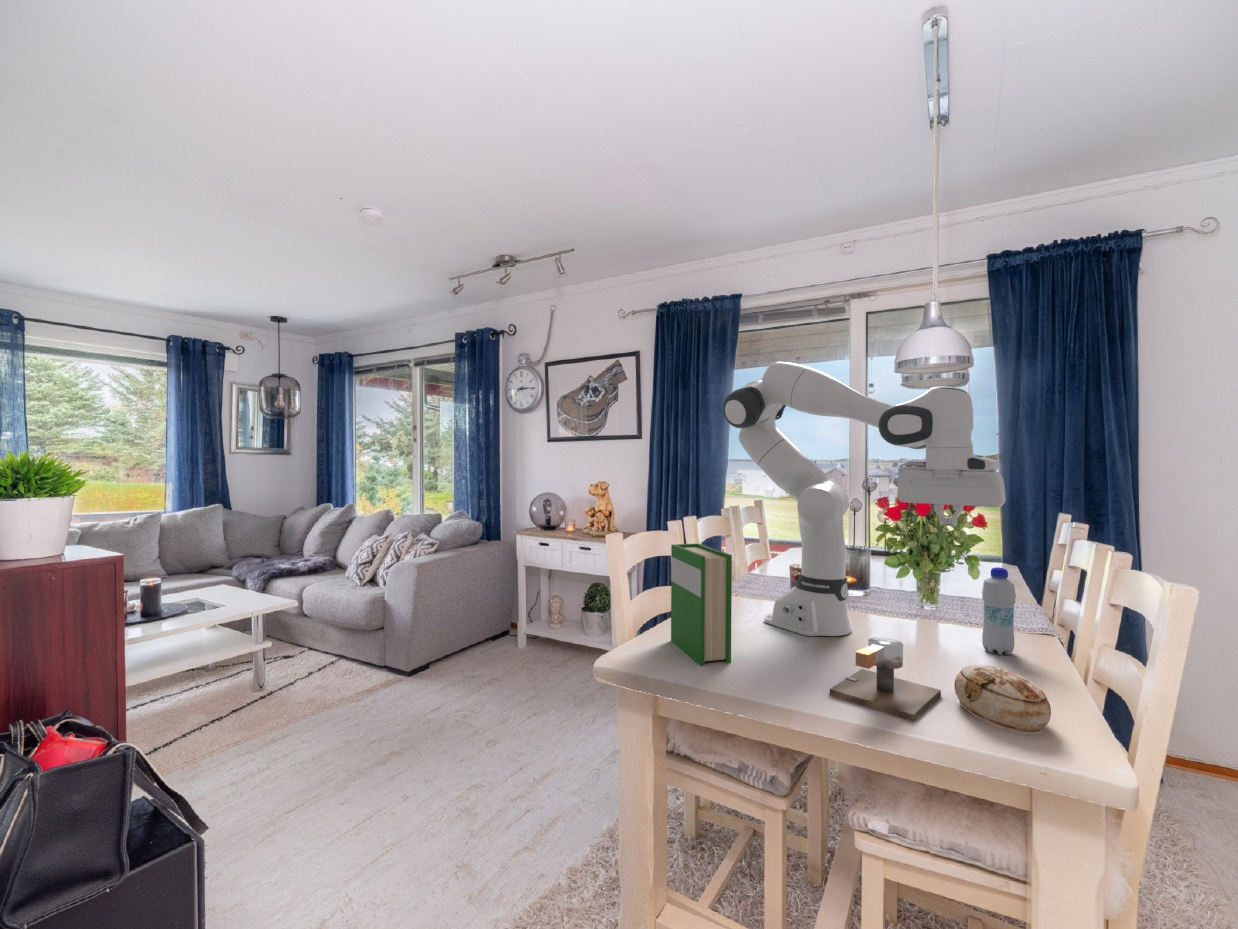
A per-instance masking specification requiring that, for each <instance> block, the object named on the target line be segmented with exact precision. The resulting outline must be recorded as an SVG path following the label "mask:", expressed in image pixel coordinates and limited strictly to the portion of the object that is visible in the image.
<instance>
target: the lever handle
mask: <svg viewBox="0 0 1238 929" xmlns="http://www.w3.org/2000/svg"><path fill="white" fill-rule="evenodd" d="M867 642H868V643H867V645H868V646H867V647H862V648H861V649H858V650H856V651H855V667H856V666H857V667H860V668H862V669H865V670H869V669H871V668H873V667H874V666H875V667H877V666H878V667H882V668H888V669H894V670H895V669H902V668H903V666H904V644H903V642H901V641H900V640H897V639H894V638H891V637H890V638H889V637H883V636H882V637H881V636H880V637H879V636H877V637H876V636H875V637H870V638H868V639H867Z"/></svg>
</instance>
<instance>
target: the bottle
mask: <svg viewBox="0 0 1238 929" xmlns="http://www.w3.org/2000/svg"><path fill="white" fill-rule="evenodd" d="M1008 578H1009V572H1008V569H1007V568H1004V567H997V566H996V567H992V568H991V569H990V577H988V578H985V579H983V584H982V591H981V594H982V596H981V598H982V600H983V619H982V620H983V621H982V622H983V623H982V624H983V625H982V626H983V627H982V637H981V639H982V640H981V642H982V643H981V644H982V646H983V647H982V648H984V650H985V651H986V652H987V651H988V652H989V653H991V654H994V652H995V650H996V652H997V655H1003V652H1004V654H1005V655H1007V656H1009V655H1011V653H1013V651H1014V650H1015V633H1014V632H1015V631H1014V630H1015V629H1014V625H1015V624H1014V622H1015V621H1014V617H1015V616H1014V614H1015V613H1014V612H1015V610H1014V609H1015V604H1016V598H1017V594H1016V589H1015V583H1014V582H1013V581H1011V580H1009V579H1008Z"/></svg>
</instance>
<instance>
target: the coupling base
mask: <svg viewBox="0 0 1238 929" xmlns="http://www.w3.org/2000/svg"><path fill="white" fill-rule="evenodd" d="M844 678H845V679H843V680H841V681H839V682H838V683H836V684H835V685H833V686H832V687H830V688H829V696H831V695H832V697H834V696H835V698H837V699H841V698H842V699H841V700H844V701H847V702H850V703H853V702H854V704H856V703H857V705H859V706H863V707H866V708H870V709H872V708H874V709H873V710H875V709H877V710H876V711H878V710H879V712H883V713H885V712H886V713H885V714H888V715H891V716H894V715H897V716H899V717H898V718H900V717H901V719H903V718H904V720H907V719H909V720H908V721H910V720H912V721H911V722H914V721H916V720H917V719H916V718H917V717H918V716H919V715H920V716H921V715H922V714H923V713H924V712H925V711H927V710H928V708H930V707H931V706H932V705H933V704H934V703H935V702H936V701H938V700H939V698H940V697H941V696H942V695H941V694H942V693H941V691H942V689H938V688H934V687H931V686H927V685H924V684H921V683H916V682H913V681H909V680H907V679H906V680H905V679H901V678H899V677H895V669H888V668H882V667H878V666H876V671H871V670H869V669H866V668H861V669H859V670H857V671H856V672H854V673H853V674H851V675H849V676H846V677H844ZM930 705H931V706H930ZM929 706H930V707H929ZM922 712H923V713H922ZM897 716H896V717H897ZM920 716H919V717H920ZM919 717H918V718H919Z"/></svg>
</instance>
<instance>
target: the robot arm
mask: <svg viewBox="0 0 1238 929" xmlns="http://www.w3.org/2000/svg"><path fill="white" fill-rule="evenodd" d="M786 407H789V408H790V409H793V410H796V411H798V412H801V413H805V414H810V415H813V416H820V417H832V418H833V417H834V418H844V419H852V420H855V421H858V422H861V423H864V424H867V425H869V426H872V427H875V428H877V429H878V432H879V434H880V437H881V438H882V439H883V440H884V441H886V442H887V443H888V444H890V445H893V446H896V447H901V448H910V449H912V450H913V449H914V450H922V449H925V461H904V463H901V464H900V465H899V466H898V468H897V477H898V479H899V480H898V485H897V493H896V494H897V495H896V497H897V498H896V499H898V500H899V502H901V503H914V504H933V509H934V510H933V511H935V513H936V515H937V516H938V518H939V525H940V526H946V527H957V526H958V518H959V516H960V515H961V514H962V512H963V511H964V506H971V507H984V508H985V507H986V508H1000V507H1003V506H1004V504H1005V503H1006V497H1007V496H1006V488H1005V482H1004V478H1003V476H1002V474H1001V473H1000V472H998V471H997V470H999V468H1000V462H999V461H998V460H996V459H993V458H989V457H986V456H984V455H979V454H978V455H977V454H975V453H974V444H973V442H972V432H973V429H974V408H973V402H972V397H971V394H969V393H968V391H965V390H964V389H961V388H957V387H952V386H934V387H931V388H930V389H928V390H927V391H926V392H924V393H923V394H921V395H919V396H917V397H915V398H913V399H910V400H908V401H905V402H902V403H898V404H896V405H893V404H889V403H887V402H884V401H881V400H878V399H875V398H872V397H868V396H866V395H865V394H862V393H860V392H858V391H857V390H854V389H853V388H851V387H849V386H847V385H846V384H844V383H843V382H841V381H839V379H838V380H837V378H835V377H833V376H831V375H829V374H827V373H826V372H823V371H821V370H818V369H815V368H812V367H810V366H807V365H801V364H798V363H793V362H784V361H776V362H773V363H772V364H770V365H769V366H768V367H767V368H766V370H765V371H764V373H763V375H762V378H760V379H756V380H754V381H751V382H749V383H747V384H746V385H743V386H742V387H740V388H739V389H736V390H734V391H732V392H730V394H728V395H727V396H726V398H725V399H724V401H723V403H722V413H723V416H724V419H725V420H726V422H727V423H728V424H729V425H730V426H732V427H733V428H736V429H740V431H739V433H738V441H739V444H741V446H742V447H743V449H744V451H745V453H747V455H748V456H749V458H751V460H752V461H753V462H754V463H755V464H756V465H757V466H758V467H759V468H760V469H761V470H762V471H763V472H764V473H765V475H766V476H767V477H768V478H769V479H770V480H771V481H772V482H773V483H774V484H775V485H776V486H777V487H778V488H780V489H781V490H783V491H784V492H785V493H786V494H787V495H789V496H790V497H792V498H793V499H794V501H796V502H797V505H796V506H797V513H798V525H799V534H800V535H799V536H800V542H801V573H798V574H797V575H795V576H793V577H792V582H795V585H794V587H792V588H790V589H789V590H788V591H786V592H785V593H783V594H782V595H780V596H778V597H777V599H776V600H775V602H774V604H773V608H772V609H773V610H772V612H771V613H768V614H767V615H765V617H764V623H766V624H769V625H772V626H775V627H777V628H781V629H785V630H787V631H790V632H794V633H797V634H800V635H803V636H806V637H814V636H815V637H816V636H817V637H818V636H824V637H825V636H827V637H840V636H846V635H848V634H851V633H852V628H851V624H850V620H849V614H848V608H847V597H848V577H846V552H847V551H846V543H845V532H844V530H845V529H844V515H845V514H846V513H847V512H848V508H849V505H850V504H849V503H850V501H849V495H848V494H847V492H846V490H845V489H844V488H843V487H842V486H841V485H839V484H838V483H837V482H836V480H834V479H833V478H831V477H830V476H829V475H828V474H827V473H826V472H825V471H824V470H823V469H821V467H819V466H818V465H817V464H815V463H814V462H813V461H812V460H811V459H810V458H808V457H807V456H806V455H805V454H804V452H802V451H801V450H800V449H799V448H798V447H797V446H796V444H794V443H793V442H792V440H790V439H789V438H788V437H787V436H786V435H785V434H784V433H783V432H782V431H780V429H779V428H778V427H777V424H776V421H777V420H780V419H781V418H782V416H783V414H784V411H785V409H786ZM945 505H950V506H952V510H953V511H955V512H954V513H953V515H952V516H951V517H950V516H946V515H945V513H944V511H943V509H945Z"/></svg>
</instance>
